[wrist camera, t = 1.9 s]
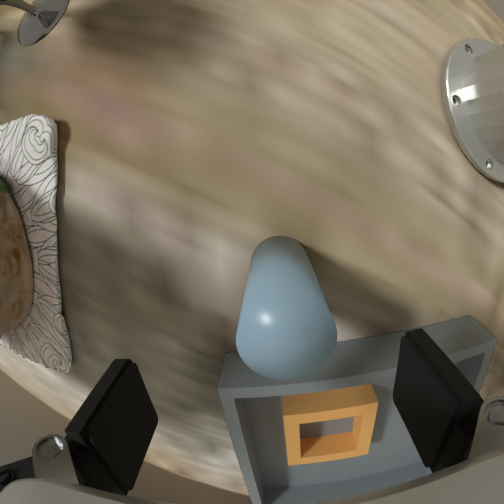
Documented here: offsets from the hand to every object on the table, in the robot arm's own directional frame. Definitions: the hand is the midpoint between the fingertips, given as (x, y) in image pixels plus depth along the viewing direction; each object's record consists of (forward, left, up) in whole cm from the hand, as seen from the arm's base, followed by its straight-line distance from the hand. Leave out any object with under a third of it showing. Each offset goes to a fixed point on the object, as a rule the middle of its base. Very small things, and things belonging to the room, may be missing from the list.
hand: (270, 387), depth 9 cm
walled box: (-7, +18, -12) cm, 23 cm away
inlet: (-4, +15, -12) cm, 19 cm away
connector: (-1, 0, -12) cm, 12 cm away
